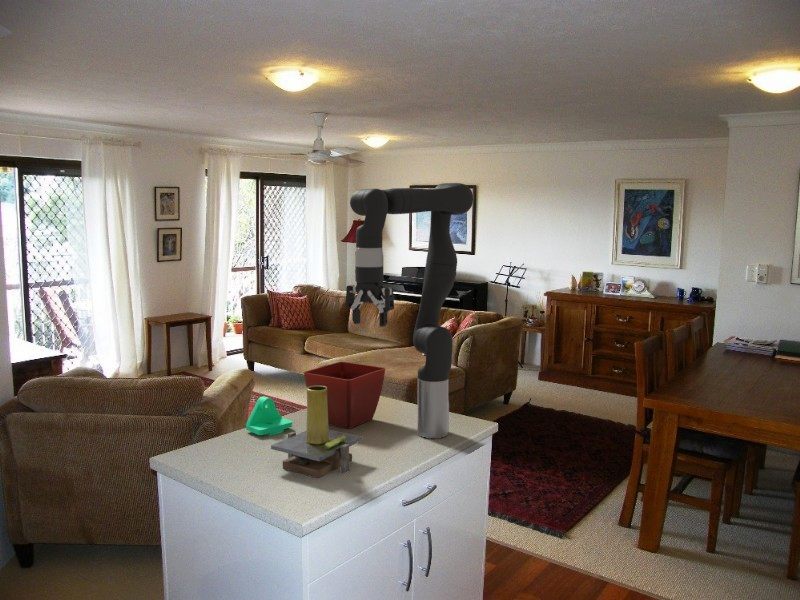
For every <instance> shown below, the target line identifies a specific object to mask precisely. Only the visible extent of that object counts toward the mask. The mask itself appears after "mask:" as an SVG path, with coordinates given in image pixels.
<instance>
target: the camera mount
mask: <svg viewBox="0 0 800 600" xmlns="http://www.w3.org/2000/svg"><path fill="white" fill-rule="evenodd" d="M275 405H276V404H275V401H274V399H273V398H270V397H267V396H264V395H263V396H260V397H258V399H257V401H256V402H255V405H254V407H253V408H252V409H253V410H251V413H250V415H249V417H248V420H247V421H246V424H245V429H246V431H249V432H250V433H253V434H255V435H257V436H264V435H267V436H270V437H272V436H275V435H277V434H278V435H279V434H282V433H284V430H286V429H290V428H292V427H293V421H292V420H290V419H287V418H284V417H283V416H282V415H281V414H280V412H279V410H278V409H277V407H276V406H275Z"/></svg>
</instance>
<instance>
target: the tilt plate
mask: <svg viewBox="0 0 800 600" xmlns="http://www.w3.org/2000/svg"><path fill="white" fill-rule="evenodd" d="M306 437H307V430H305V431H302V432H299V433H296V435H295V436H292V437H290V438H288V437H287V438H285V439H283V440H280V441H278V442H276V443H273V444H271V445H270V450H274V451H278V452H281V453H285V454H287V455H288V454H292V455H296V456H300V457H304V458H308V459H312V460H316V461H321V460H323V459H325V458H327V457H329V456H331V455H333V454H335V453H338V452H340V451H341V446H342V445H344V444H348V445H349V448H350V447H352V446H353V445H356V444H358V443H360V442H362V441H363V436H362V435H361V436H360V435H356V434H351V433H347V432H342V431H338V430H334V429H329V439H330V440H329V441H328V442H327V443H325V444H318V445H315V444H309V443H307V442H306Z"/></svg>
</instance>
